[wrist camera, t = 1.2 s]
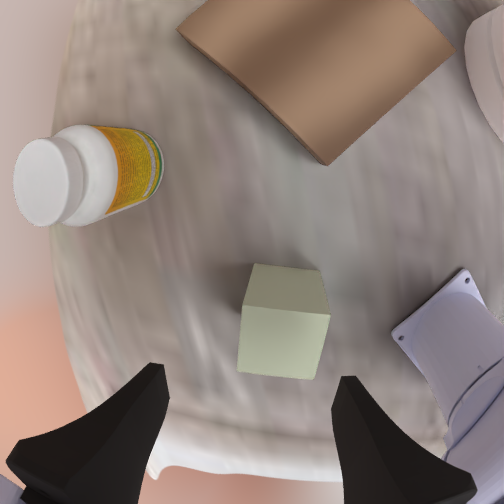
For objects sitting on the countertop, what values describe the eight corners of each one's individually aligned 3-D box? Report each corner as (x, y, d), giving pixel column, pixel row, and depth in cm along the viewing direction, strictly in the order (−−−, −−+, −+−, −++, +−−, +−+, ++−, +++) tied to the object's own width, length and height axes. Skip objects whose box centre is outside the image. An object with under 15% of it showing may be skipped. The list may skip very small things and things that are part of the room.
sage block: (319, 270, 20) (330, 315, 15) (308, 326, 22) (313, 379, 16) (254, 262, 21) (242, 305, 15) (248, 319, 22) (236, 371, 16)
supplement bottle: (121, 216, 21) (30, 260, 11) (92, 154, 19) (-6, 167, 10) (180, 182, 19) (98, 209, 10) (147, 114, 18) (53, 98, 9)
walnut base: (436, 61, 14) (456, 50, 12) (321, 164, 18) (327, 166, 15) (312, -47, 13) (314, -69, 10) (190, 44, 16) (175, 29, 13)
